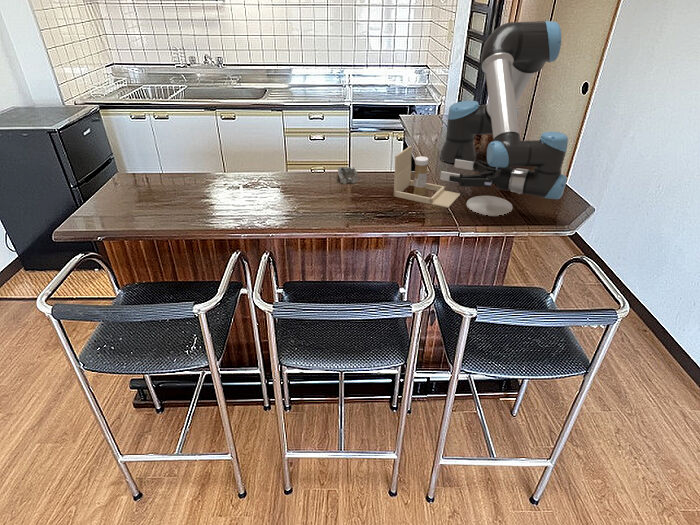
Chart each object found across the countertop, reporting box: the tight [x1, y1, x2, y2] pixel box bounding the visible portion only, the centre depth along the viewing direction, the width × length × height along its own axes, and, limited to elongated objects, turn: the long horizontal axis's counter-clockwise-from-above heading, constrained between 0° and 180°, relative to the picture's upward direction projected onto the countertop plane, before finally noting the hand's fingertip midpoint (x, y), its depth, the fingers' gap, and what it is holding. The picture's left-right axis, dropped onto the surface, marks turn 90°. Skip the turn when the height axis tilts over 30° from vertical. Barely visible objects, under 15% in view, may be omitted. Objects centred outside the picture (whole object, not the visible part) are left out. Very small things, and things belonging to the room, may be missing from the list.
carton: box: [393, 145, 461, 209], centre depth 154 cm, size 21×13×15 cm, turn 59°
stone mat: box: [466, 195, 513, 217], centre depth 149 cm, size 15×15×1 cm
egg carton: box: [337, 166, 359, 185], centre depth 172 cm, size 11×8×4 cm
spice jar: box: [412, 156, 429, 196], centre depth 155 cm, size 5×5×14 cm
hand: (448, 169), depth 148 cm, fingers open, 13 cm apart
